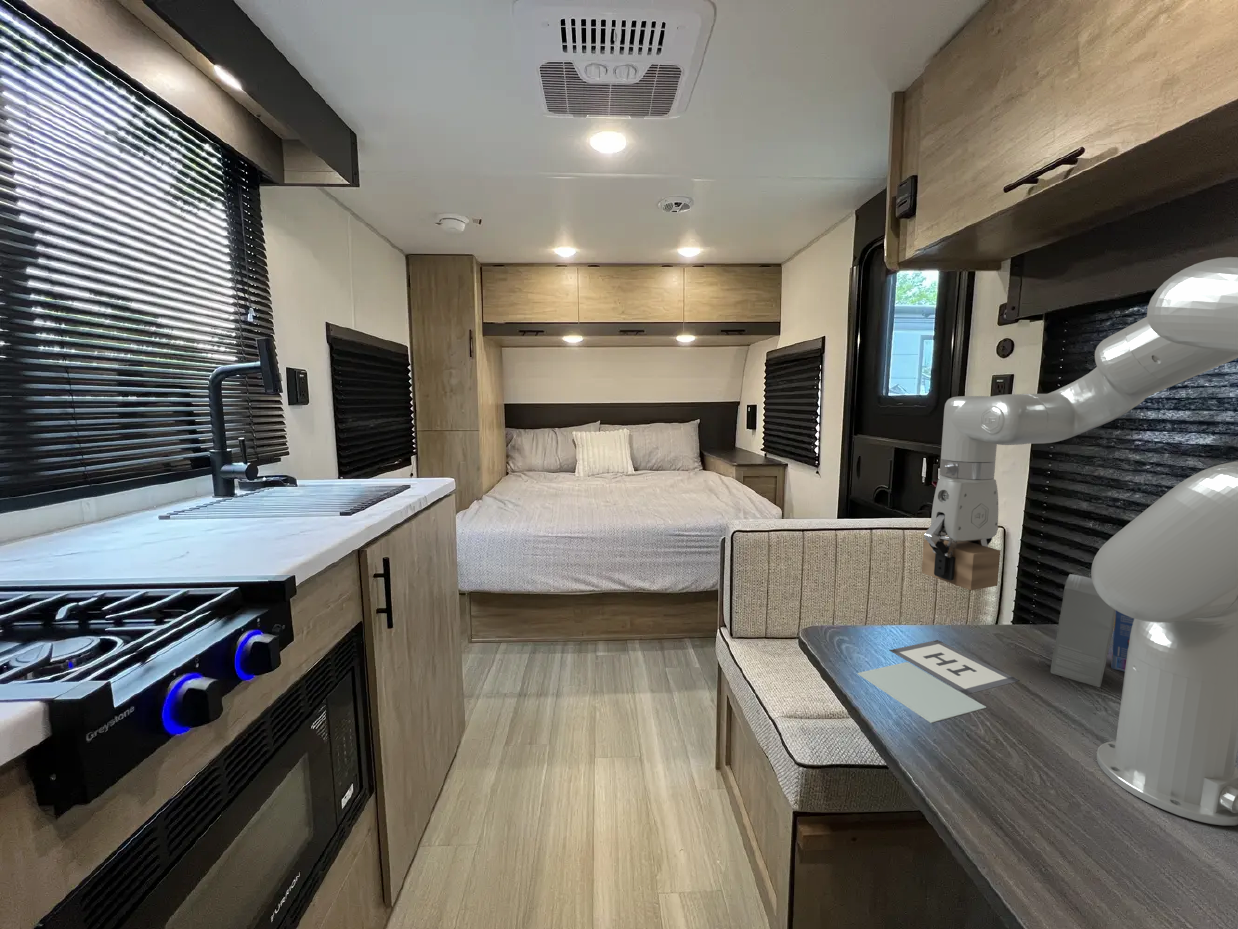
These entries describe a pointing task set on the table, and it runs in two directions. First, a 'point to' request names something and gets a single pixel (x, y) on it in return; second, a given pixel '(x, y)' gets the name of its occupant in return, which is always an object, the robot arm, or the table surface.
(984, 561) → the walnut block
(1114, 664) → the ink cartridge box
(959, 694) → the sage mat
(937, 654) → the grey framed panel
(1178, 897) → the table surface
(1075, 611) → the skincare box
